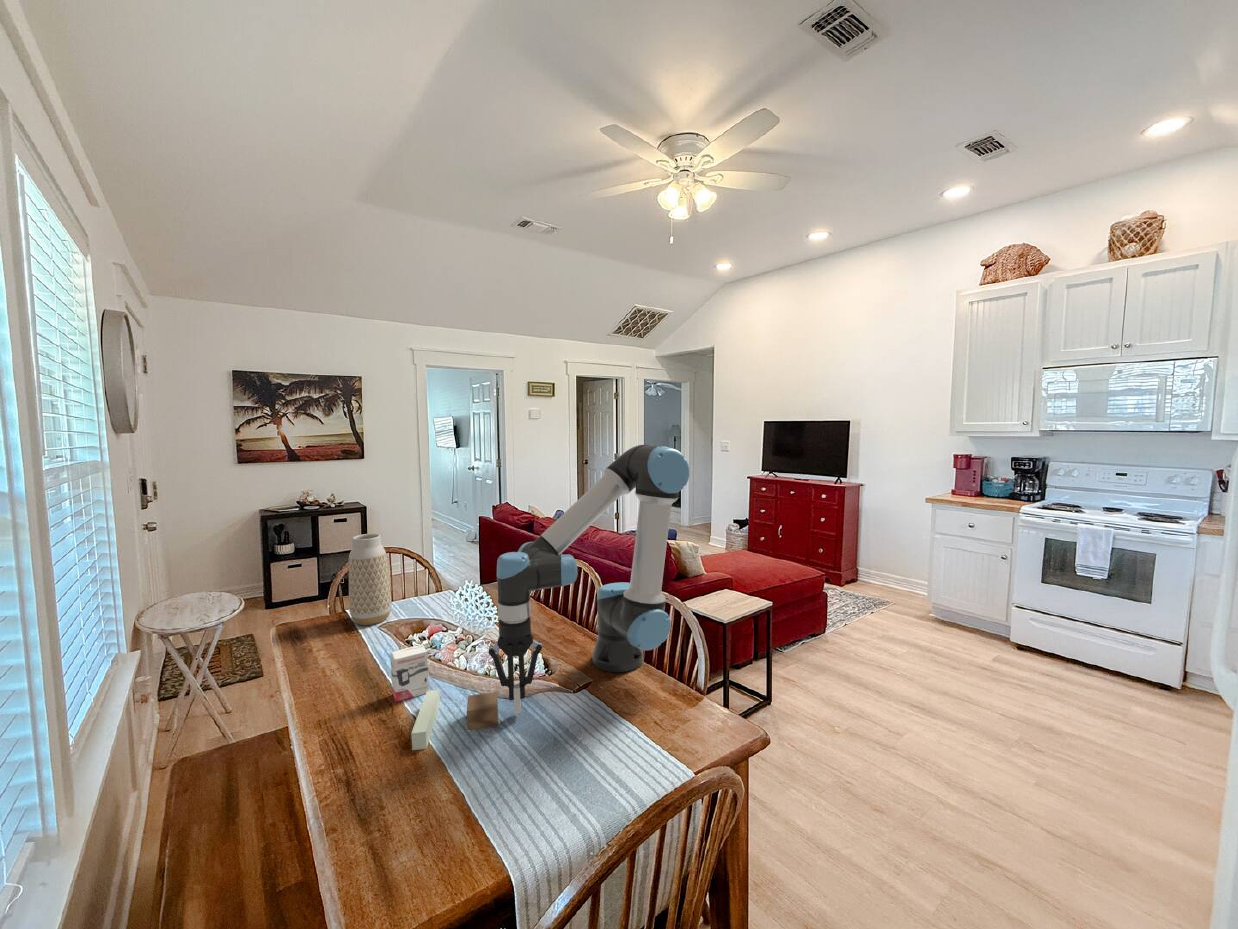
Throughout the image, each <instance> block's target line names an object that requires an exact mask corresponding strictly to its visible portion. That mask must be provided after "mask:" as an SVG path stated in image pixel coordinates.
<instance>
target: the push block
mask: <svg viewBox="0 0 1238 929" xmlns="http://www.w3.org/2000/svg"><path fill="white" fill-rule="evenodd" d="M466 721H467V722H466V724H467V728H466V729H467V731H468V730H470V731H476V730H481V729H490V728H497V727H499V704H498V691H493V692H485V693H477V694H471V695H470V694H469V695H468V696H467V703H466Z"/></svg>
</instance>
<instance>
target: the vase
mask: <svg viewBox="0 0 1238 929" xmlns="http://www.w3.org/2000/svg"><path fill="white" fill-rule="evenodd" d="M381 536H382V535H381V534H379V533H365V534H358V535H355V536H353V537H352V539H351V540H352V541H351V542H352V543H351V544H352V548H351V550H350V552H349V555H348V607H349V612H350V617H351V619H352V621H353V622H354V623H356V624H357V625H360V626H373V625H376V624H377V625H378V624H380V623H383V622H384V621H386V619H387V618H388V617H389V615H390V614H391V611H392V592H391V582H390V574H389V573H390V572H389V566H388V558H387V552H386V549H385V548H384V546H383V544H382V540H381Z"/></svg>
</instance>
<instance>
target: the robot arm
mask: <svg viewBox="0 0 1238 929" xmlns="http://www.w3.org/2000/svg"><path fill="white" fill-rule="evenodd" d="M603 472H604V473H603V476H602V477H600V479H599V480H597V481H596V482H595V483H594V484H593V485H592V486H591V487H590V488H589V489H588V490H587V491H586V492H585V493H584V494H583V495H582V496H580V498H579V499H577V500H576V501H575V502H574V503H573V504H572V505H571V506H570V507H569V508H568V509H567V510H566V511H565V512H564V513H562V514H561V516H559V518H557V519H556V520H555V521H554V522H553V523H552V524H551V525H550V526H549V527H548V528H547V529H546V530H545V531H544V532H542V534H540V535H539V537H538V538H536V539H535V540H534V541H529V542H528V541H527V542H525V543H523V544H522V545H521V546H520V547H519V549H518V550H517V551H511V552H510V551H509V552H506V553H503V554H500V555H499V557H498V558H497V560H496V562H497V563H496V576H495V577H496V582H497V583H496V584H497V608H498V609H497V610H498V614H497V615H498V638H497V641H496V643H495V644H493V645H492V644H491V645H490V646H489V647H488V652H487V653H488V654H489V656H490V658H492V660H493V663H494V666H495V670H496V673H497V677H498V679H499V682H500V686H502V687H507V688H508V699H509V701H510V700H511V701H513V711H514V712H513V714H514V715H519V714H522V710H521V709H522V702H521V701H522V700H523V699H525V698H526V686H527V685H530V684H532V683H533V679H534V675H535V670H536V666H537V662H538V657H539V655H540V652H541V651H542V650H543V642H542V641H540V640H539V641H537V640H535V639H534V636H533V635H532V625H531V622H532V621H531V620H532V618H531V617H530V616H531V592H535V591H541V590H547V589H553V588H559V587H564V586H568V585H571V584H574V583H575V582H576V581H577V578H578V571H579V570H578V564H577V561H576V559H575V558H574V556H573V555H572V554H569V553H568V554H563V552H564V551H566V549H567V548H569V547H570V546H571V544H572V543H574V542H575V541H576V540H577V539H578V538H579V537H580V536H581V535H582V534H583V533H584V532H585V531H586V530H587V529H588V528H590V526H591V525H592V524H594V523H595V521H596V520H597V519H599V518H600V517H601V515H603V514H604V513H605V512H606V511H607V510H608V509H609V508H610V507H611V506H612V505H613V504H614V503H615V502H616V501H617V500H619V498H621V496H622V495H629V494H630V493H631V492H632V491H633V490H634V489H635V492H634V493H635V494H634V495H635V496H636V497H637V499H638V500H639V506H638V516H637V523H636V531H635V541H634V547H633V548H634V549H633V556H632V565H631V574H630V580H629V582H623V581H622V582H621V581H620V582H611V583H607V584H604V585H601V586H600V587H599V588H598V590H597V596H596V601H597V602H596V603H597V604H596V606H597V607H596V608H597V611H596V612H597V638H596V642H595V643H594V648H593V650H592V664H593V665H594V666H595V667H596V668H597V669H598V670H599V669H600V670H602V671H605V672H609V673H625V672H631V671H634V670H636V669H638V668H639V667H641V666H642V665H643V664H644V651H652V650H655V649H657V648H659V647H660V646H661V645H662V643H664V642H665V641H666V640H667V638H668V637H669V635H670V632H671V628H672V623H671V622H672V620H671V618H670V616H669V614H668V613H667V612H666V611H665V608H666V599H667V597H666V596H665V595H664V594H663V592H662V587H663V578H664V572H665V570H664V569H665V564H666V563H665V560H666V555H667V554H666V552H667V545H668V537H669V528H670V519H671V512H672V505H673V503H676V502H677V500H678V499H679V492H681V491H682V490H683V489H684V488H685V486H686V485H687V484H688V482H689V479H690V466H689V462H688V460H687V458H686V457H685V456H684V454H683V453H682V452H681V451H679V450H678V449H676V448H672V447H669V446H663V445H662V446H661V445H659V446H658V445H649V444H639V445H635V446H632V447H630V448H629V449H627V450H625V451H624V452H623V453H622V454H621V455H619V456H618V457H616V459H615V460H614V461H613V462H611V464H609V465H608V466H607V467H606V468H605V469H604V470H603ZM530 648H531V649H532V653H531V657H530V662H529V667H528V671H527V675H526V676H525V654H526V653H527V652H528V650H529V649H530ZM500 650H501V651H502V652H503V653H504V654H505V655H506V656H507V674H508V675H507V676H506V672H505V670H504V666H503V664H502V658H501V656H500ZM514 657H518V675H519V676H518V680H519V682H515V672H514V671H515V670H514V669H515V668H514ZM507 677H508V678H507Z"/></svg>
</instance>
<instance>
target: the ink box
mask: <svg viewBox="0 0 1238 929" xmlns="http://www.w3.org/2000/svg"><path fill="white" fill-rule="evenodd" d="M389 654H390V655H389V656H390V671H391V672H390V674H391V686H392V687H391V689H392V696H393V699H394V700H395V702H396V703H398V702H401V701H405V700H408V699H412V698H414V697H415V698H416V697H419V696H422V695H426V692H427V691H430V680H429V679H430V678H429V662H428V661H429V660H428V650H427V648H426V647H425V646H424V645H423V644H419V645H418V644H417V645H413V646H410V647H406V648H402V649H397V650H394V651H392V652H390V653H389Z"/></svg>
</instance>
